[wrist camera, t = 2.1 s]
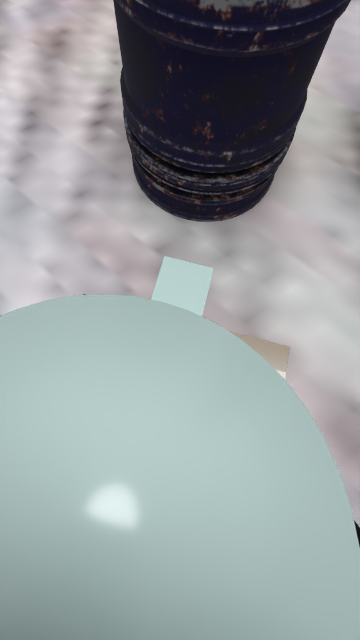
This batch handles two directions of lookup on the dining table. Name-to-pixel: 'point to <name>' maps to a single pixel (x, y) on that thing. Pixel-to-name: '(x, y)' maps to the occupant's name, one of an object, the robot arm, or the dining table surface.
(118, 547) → the pale green rounded piece
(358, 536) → the robot arm
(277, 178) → the dining table surface
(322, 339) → the dining table surface
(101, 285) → the dining table surface
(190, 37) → the storage jar
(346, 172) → the dining table surface
